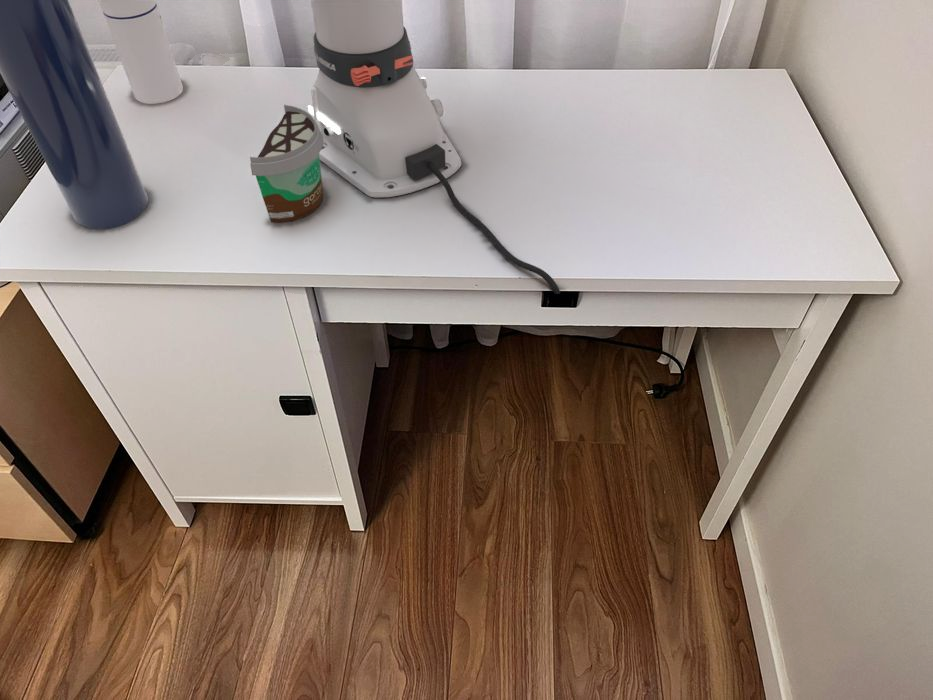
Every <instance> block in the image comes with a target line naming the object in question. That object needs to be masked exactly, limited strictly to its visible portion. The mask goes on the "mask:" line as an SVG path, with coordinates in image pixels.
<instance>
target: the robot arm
mask: <svg viewBox="0 0 933 700" xmlns="http://www.w3.org/2000/svg"><path fill="white" fill-rule="evenodd" d="M310 5H311V11H312V17H313V23H314V30H315V32H314V35H313V52H314V56H315V60H316V65H317V67H318V69H319V70H318V74H317V77H316V80H315V82H314V84H313V85H312V88H311V91H310V92H311V93H310V94H311V102H312V106H311V105H307V108H308V113H309V114H310V115H311V116H313V119H314V120H315V121H316V123H317V125H318V127H319V129H320V132H321V134H322V136H323V146H322V149H321V151H320V152H319V158H320V162H322V163H323V164H325V165H326V166H327V167H328V168H330V169H331V170H333V171H334V172H335V173H336V174H338V175H339V176H340V177H342V178H343V179H344V180H346V181H347V182H348V183H350V184H351V185H353V186H354V187H355V188H357V189H358V190H359V191H360V192H362V193H363V194H365V195H366V196H368V197H370V198H392V197H397V196H403V195H408V194H411V193H415V192H418V191H421V190H424V189H426V188H428V187H429V188H430V187H431V186H433V185H436V184H439V183H441V184H442V186H443V187H444V189H445V191H446V194H447V195H448V197H449V200H450V201H451V204H453V206H454V207H455V208H456V209H457V210H458V211H459V212H460V214H461V215H463V216H464V217H465V218H466V219H468V220H469V221H470V222H471V223H473V224H474V225H475V226H476V227H477V228H478V229H479V230H480V231H481V232H482V233H483V234H484V235H485V236H486V237H487V238H488V240H489V241H490V242H491V243H492V245H493V246H494V247H495V249H497V251H498V252H499V253H500V254H502V256H503V257H505V258H506V259H507V260H508V261H509V262H511V263H512V264H514V265H515V266H517V267H519V268H521V269H523V270H525V271H528V272H531V273H533V274H536V275H538V276H539V277H541V278H542V279H543V280H544V281H545V282H546V283H547V284H548V286H549V287H550V288H551V290H552V293H554V294H555V295H560V294H561V289H560V288H559V285H558V284H557V283H556V281H555V280H554V279H553V277H552V276H551V275H550V274H549V273H547V272H546V270H543V269H542V268H540V267H538V266H535V265H533V264H531V263H528V262H525V261H523V260H521V259H519V258H518V257H516V256H515V255H513V254H512V253H511V252H510V251H509V250H508V249H506V247H505V246H504V245H503V244H502V243H501V242H500V240H498V238H497V237H496V236H495V234H494V233H493V232H492V231H491V229H489V227H487V226H486V225H485V224H484V223H483V222H482V221H481V220H480V219H479V218H477V217H476V216H475V215H474V214H473V213H471V212H470V211H469V210H468V209H466V208H465V207H464V205H462V203H461V202H460V201H459V199H458V198H457V196H456V194H455V192H454V190H453V188H452V186H451V184H450V183H449V181H448V180H447V179H448V178H450V177H452V176H453V175H454V174H455V173H456V172H457V171H458V170H459V169H460V168H461V167H462V160H461V157H460V155H459V154H458V152H457V149H456V148H455V147H454V145H453V143H452V142H451V140H450V139H449V137H448V135H447V134H446V132H445V131H444V129H443V127H442V126H441V121H440V117H442V116H443V115H444V107H443V103H442V101H441V99H439V98H433V99H430V96H429V94H428V93H427V90H426V89H427V87H428V84H427V80H426V77H424V76H422V77H421V78H420V75H419V74H418V72H417V70H416V68H415V66H414V56H413V53H412V45H411V41H410V38H409V35H408V32H407V29H406V27H405V25H404V12H403V0H310Z"/></svg>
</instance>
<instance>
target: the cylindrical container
mask: <svg viewBox="0 0 933 700" xmlns="http://www.w3.org/2000/svg"><path fill="white" fill-rule="evenodd" d="M98 3H99V6H100V8H101V11H102V14H103V16H104V19H105V22H106V24H107V27H108V31H109V32H110V35H111V38H112V41H113V43H114V46H115V48H116V51H117V54H118V57H119V60H120V62H121V65H122V67H123V70H124V72H125V75H126V78H127V80H128V84H129V86H130V88H131V91H132V94H133V97H134V99H135V100H136V101H138V102H140V103H142V104H146V105H147V104H149V105H153V104H154V105H156V104H162V103H166V102H169V101H172V100H174V99H176V98H178V97H179V96H180V95H181V93H183V90H184V86H183V82H182V80H181V77H180V73H179V70H178V67H177V63H176V61H175V57H174V55H173V50H172V48H171V45H170V42H169V39H168V35H167V32H166V28H165V26H164V22H163V19H162V16H161V14H160V10H159V6H158V4H157V1H156V0H98Z"/></svg>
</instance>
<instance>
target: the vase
mask: <svg viewBox="0 0 933 700" xmlns="http://www.w3.org/2000/svg"><path fill="white" fill-rule="evenodd" d="M0 76H1V78H2V80H3V82H4V83H5V85H6V87H7V90H8V91H9V93H10V95H11V97H12V99H13V102H14V103H15V105H16V107H17V110H18V111H19V113H20V115H21V118H22V119H23V121H24V123H25V125H26V126H27V129H28V131H29V133H30V135H31V136H32V138H33V141H34V142H35V145H36V147H37V148H38V151H39V152H40V155H41V156H42V158H43V160H44V162H45V164H46V166H47V168H48V170H49V172H50V174H51V176H52V178H53V179H54V182H55V183H56V186H57V188H58V190H59V192H60V193H61V195H62V197H63V199H64V202H65V203H66V206H67V207H68V209H69V211H70V214H71V216H72V217H73V220H75V222H76V223H77V224H78V225H80V226H82V227H84V228H87V229H91V230H92V229H93V230H107V229H108V230H109V229H114V228H117V227H121V226H123V225H125V224H128V223H130V222H132V221H134V220H135V219H137V218H138V217H139V216H140V215H141V214H143V212H145V210H146V208H147V206H148V203H149V197H148V194H147V191H146V189H145V187H144V184H143V181H142V179H141V177H140V175H139V172H138V169H137V167H136V164H135V162H134V159H133V156H132V154H131V152H130V150H129V147H128V145H127V141H126V139H125V137H124V134H123V132H122V130H121V127H120V124H119V122H118V120H117V118H116V115H115V112H114V110H113V108H112V104H111V103H110V99H109V98H108V97H109V96H108V95H107V93H106V90H105V87H104V84H103V83H102V80H101V78H100V74H99V72H98V71H97V67H96V66H95V62H94V60H93V58H92V55H91V52H90V50H89V48H88V45H87V43H86V41H85V38H84V36H83V33H82V31H81V28H80V26H79V23H78V21H77V18H76V16H75V13H74V11H73V8H72V6H71V3H70V1H69V0H0Z"/></svg>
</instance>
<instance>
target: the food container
mask: <svg viewBox="0 0 933 700" xmlns="http://www.w3.org/2000/svg"><path fill="white" fill-rule="evenodd" d="M283 108H284V114H283V116H282V118H281V120H280V121H279V123H278V124H277V125H276V126H275V127H274V128H273V129H272V131H271V132H270V133H269V135H268V137H267V139H266V141H265V143H264V145H263V147H262V149H261V151H260V152H259V154H258V155H257V156H256V157H255V156H250V157H249V159H250V164H249V165H250V171H251V176H255V178H256V182H257V185H258V187H259V190H260V194H261V196H262V199H263V202H264V206H265V208H266V211H267V214H268V218H269V220H270V223H275V224H284V223H292V222H296V221H299V220H302V219H305V218H307V217H308V216H310V215H312V214H314V213H315V212H316V211H317V210H318V209H320V207H321V205H322V203H323V201H324V193H323V180H322V169H321V160H320V158H319V152H320V151H321V149H322V146H323V136H322V134H321V132H320V129H319V127H318V125H317V123H316V121H315V120H314V116H313V115H312V114H311V113H310V112H308V111H306V110H304V109H302V108H300V107H297V106H293V105H289V104H288V105H287V104H283Z"/></svg>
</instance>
